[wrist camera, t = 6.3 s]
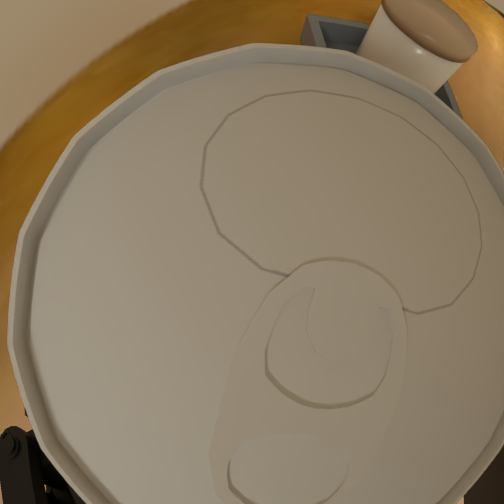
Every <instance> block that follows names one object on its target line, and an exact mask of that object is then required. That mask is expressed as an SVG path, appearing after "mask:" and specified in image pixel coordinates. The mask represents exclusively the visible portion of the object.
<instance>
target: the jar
mask: <svg viewBox="0 0 504 504" xmlns="http://www.w3.org/2000/svg"><path fill="white" fill-rule="evenodd" d="M477 47H478V45H477V41H476V38H475V36H474V34H473V32H472V31H471V29H470V28H469V26H468V25H467V24H466V23H465V21H464V20H463V19H462V18H461V17H460V16H459V15H458V14H457V13H456V12H455V11H454V10H453V9H451V8H450V7H449V6H448V5H446V4H445V3H444V2H442V1H441V0H382V3H381V5H380V7H379V9H378V11H377V13H376V15H375V17H374V19H373V21H372V23H371V25H370V27H369V29H368V31H367V33H366V35H365V37H364V38H363V40H362V42H361V44H360V46H359V48H358V50H357V52H356V55H358V56H361V57H363V58H366V59H368V60H371V61H373V62H375V63H378V64H380V65H382V66H384V67H386V68H389V69H391V70H393V71H395V72H397V73H399V74H401V75H403V76H405V77H407V78H409V79H411V80H413V81H415V82H417V83H419V84H421V85H423V86H425V87H426V88H427V89H429V90H430V91H431V92H432V93H433V94H435V93H436V92H437V91H438V89H439V88H440V87H441V86H442V85H443V84H444V83H445V82H446V81H447V80H448V79H449V78H450V77H451V76H452V75H453V74H454V72H455V71H456V70H457V69H458V68H459V67H460V66H461V65H462V64H463V63H464V62H466V61H468V60H469V59H470V58H471V56H472V55H473V54H474V53H475V52H476V51H477Z"/></svg>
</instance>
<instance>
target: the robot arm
mask: <svg viewBox="0 0 504 504" xmlns="http://www.w3.org/2000/svg"><path fill="white" fill-rule="evenodd" d="M25 415H26V416H27V417H28V415H27V412H26V409H25ZM0 484H1V491H2V498H3V504H86V503H85V502H84V501H83V500H82V499H81V497H80V496H79V495H78V494H77V493H76V492H75V491H74V490H73V488H72V487H71V486H70V485H69V484H68V483H67V481H66V480H65V479H64V478H63V477H62V475H61V474H60V473H59V472H58V470H57V469H56V468H55V467H54V465H53V464H52V463H51V461H50V460H49V459H48V458H47V456H46V455H45V453H44V452H43V451H42V449H41V448H40V446H39V443H38V441H37V438H36V436H35V433H34V431H33V429H32V430H30V431H28V432H25V431H24V430H22V429H21V428H19V427H17V426H10V427H9V428H7V429H5V431H4V432H3V433H2V434H1V436H0ZM44 485H46V491H45V486H44ZM464 504H504V445H503V447H502V448H501V450H500V451H499V453H498V454H497V455H496V457H495V458H494V459H493V461H492V462H491V463H490V465H489V466H488V467H487V469H486V470H485V471H484V472H483V474H482V475H481V476H480V477H479V479H478V480H477V481H476V482H475V483H474V485H473V486H472V487H471V488H470V489H469V490H468V491H467V493H466V494H465V495H464Z"/></svg>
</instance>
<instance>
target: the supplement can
mask: <svg viewBox="0 0 504 504" xmlns="http://www.w3.org/2000/svg"><path fill="white" fill-rule="evenodd" d="M7 345H8V350H9V354H10V358H11V362H12V366H13V370H14V374H15V377H16V381H17V384H18V387H19V391H20V394H21V397H22V400H23V403H24V406H25V409H26V412H27V415H28V418H29V420H30V423H31V426H32V428H33V431H34V433H35V436H36V438H37V441H38V443H39V446H40V448H41V449H42V451H43V452H44V453H45V455H46V456H47V458H48V459H49V460H50V461H51V463H52V464H53V465H54V467H55V468H56V469H57V470H58V472H59V473H60V474H61V475H62V477H63V478H64V479H65V480H66V481H67V483H68V484H69V485H70V486H71V487H72V488H73V490H74V491H75V492H76V493H77V494H78V495H79V496H80V497H81V499H82V500H83V501H84V502H85V503H86V504H457V502H458V501H459V500H460V499H461V498H462V497H463V496H464V495H465V494H466V493H467V491H468V490H469V489H470V488H471V487H472V486H473V485H474V483H475V482H476V481H477V480H478V479H479V477H480V476H481V475H482V474H483V472H484V471H485V470H486V469H487V467H488V466H489V465H490V463H491V462H492V461H493V459H494V458H495V457H496V455H497V454H498V453H499V451H500V450H501V448H502V447H503V445H504V173H503V171H502V169H501V168H500V166H499V164H498V162H497V161H496V159H495V157H494V156H493V154H492V153H491V151H490V149H489V148H488V146H487V145H486V143H485V142H484V141H483V140H482V139H481V138H480V137H479V136H478V135H477V134H476V133H475V132H474V131H473V130H472V129H471V128H470V127H469V126H468V125H467V124H466V123H465V122H464V121H463V120H462V119H461V118H460V117H459V116H458V115H457V114H456V113H455V112H454V111H453V110H451V109H450V108H449V107H448V106H447V105H446V104H445V103H444V102H443V101H441V100H440V99H439V98H438V97H437V96H436V95H435V94H433V93H432V92H431V91H430V90H429V89H427V88H426V87H425V86H423V85H421V84H419V83H417V82H415V81H413V80H411V79H409V78H407V77H405V76H403V75H401V74H399V73H397V72H395V71H393V70H391V69H389V68H386V67H384V66H382V65H380V64H378V63H375V62H373V61H371V60H368V59H366V58H363V57H361V56H358V55H356V54H353V53H351V52H348V51H345V50H338V49H330V48H322V47H312V46H302V45H288V44H269V43H252V44H247V45H243V46H239V47H235V48H230V49H226V50H223V51H219V52H215V53H211V54H208V55H204V56H201V57H198V58H194V59H191V60H188V61H185V62H182V63H179V64H176V65H173V66H170V67H167V68H164V69H161V70H158V71H157V72H155V73H154V74H152V75H151V76H149V77H148V78H146V79H145V80H144V81H142V82H141V83H139V84H138V85H137V86H135V87H134V88H132V89H131V90H130V91H128V92H127V93H126V94H124V95H123V96H122V97H120V98H119V99H118V100H116V101H115V102H114V103H113V104H111V105H110V106H109V107H107V108H106V109H105V110H104V111H102V112H101V113H100V114H99V115H98V116H96V117H95V118H94V119H93V120H92V121H90V122H89V123H88V124H87V125H86V126H85V127H83V128H82V129H81V130H80V131H79V132H78V133H77V134H76V135H74V136H73V138H72V139H71V141H70V142H69V144H68V146H67V147H66V149H65V150H64V152H63V153H62V155H61V156H60V158H59V160H58V161H57V163H56V165H55V166H54V168H53V170H52V171H51V173H50V175H49V176H48V178H47V180H46V182H45V183H44V185H43V187H42V189H41V191H40V192H39V194H38V196H37V198H36V200H35V202H34V204H33V206H32V207H31V209H30V211H29V213H28V215H27V217H26V219H25V221H24V224H23V226H22V228H21V230H20V232H19V236H18V241H17V247H16V253H15V259H14V266H13V273H12V281H11V290H10V301H9V314H8V337H7Z"/></svg>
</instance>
